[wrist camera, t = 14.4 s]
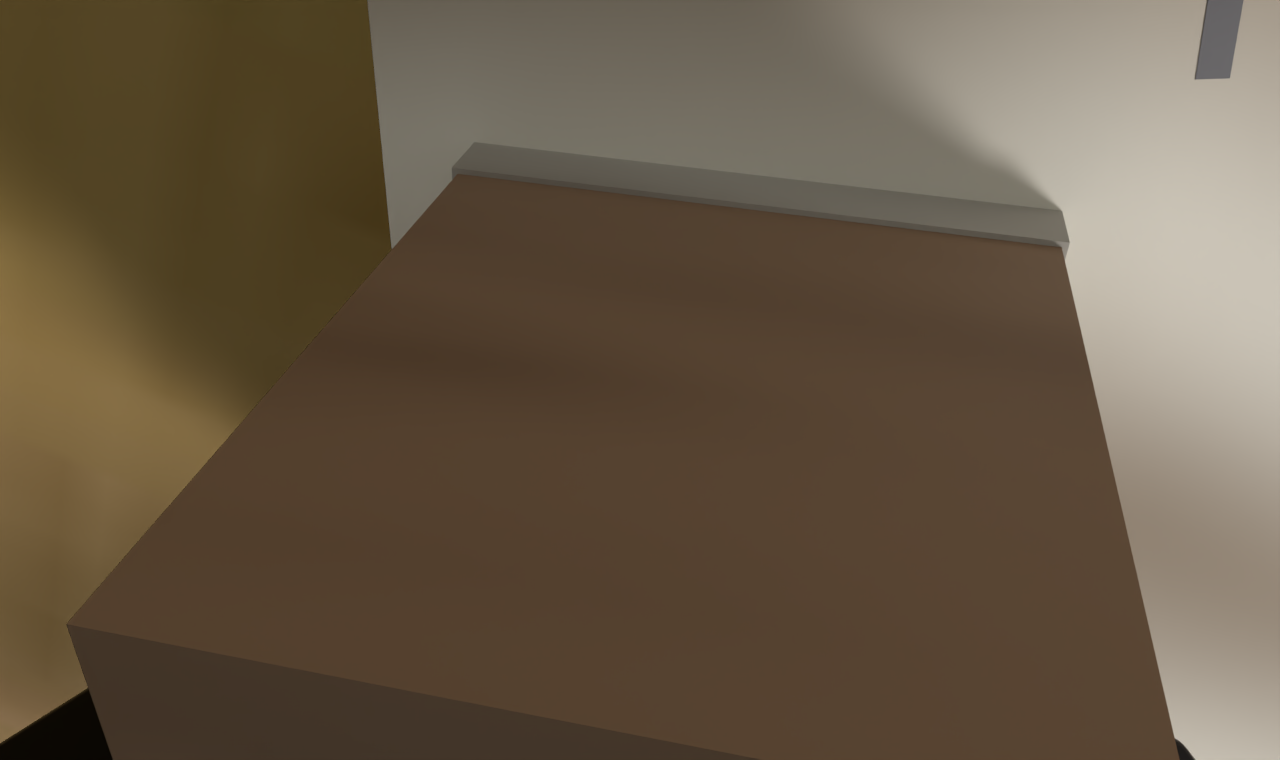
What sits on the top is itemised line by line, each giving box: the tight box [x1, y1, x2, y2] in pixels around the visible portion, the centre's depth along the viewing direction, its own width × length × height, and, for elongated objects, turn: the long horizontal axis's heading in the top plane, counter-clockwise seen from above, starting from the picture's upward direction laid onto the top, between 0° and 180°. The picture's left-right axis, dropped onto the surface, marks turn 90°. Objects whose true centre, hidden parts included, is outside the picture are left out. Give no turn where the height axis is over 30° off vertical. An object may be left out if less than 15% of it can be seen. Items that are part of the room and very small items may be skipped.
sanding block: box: [66, 142, 1180, 760], centre depth 9 cm, size 7×5×6 cm
